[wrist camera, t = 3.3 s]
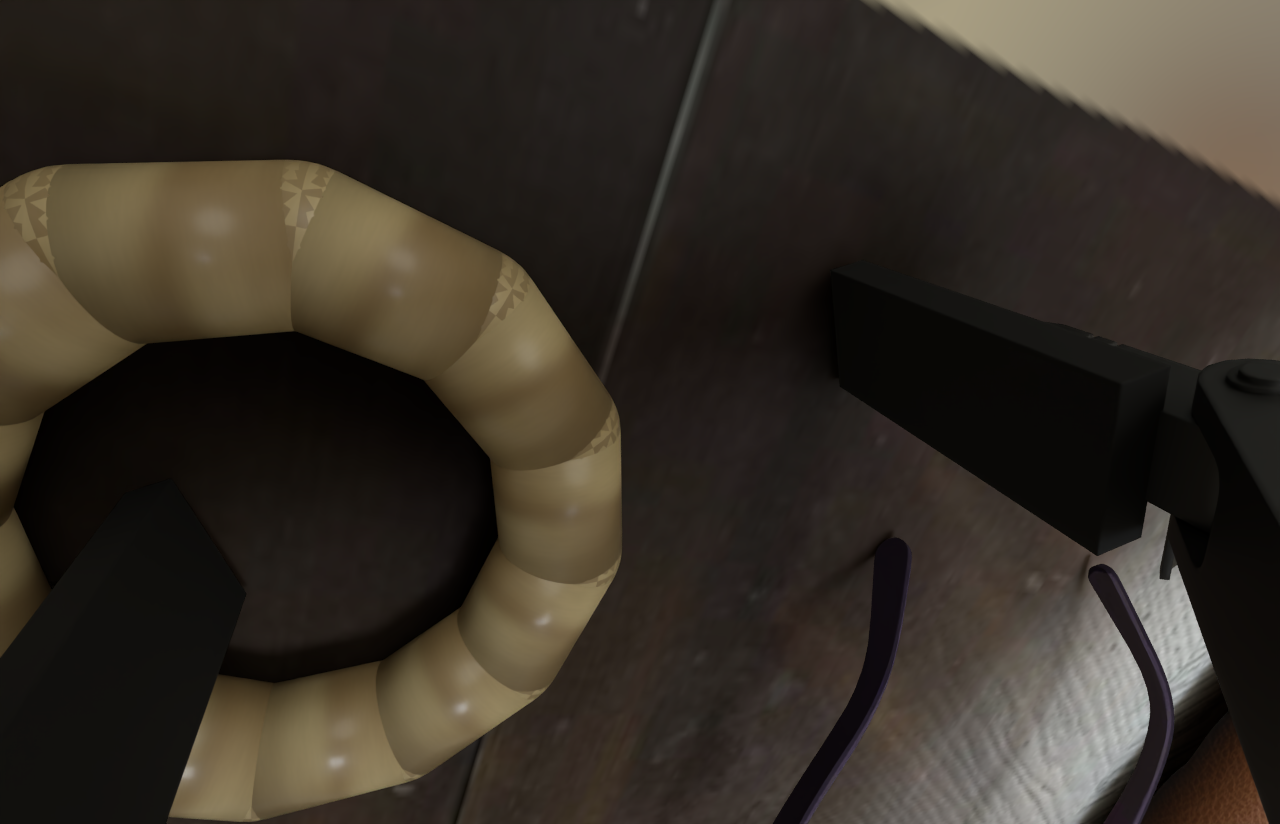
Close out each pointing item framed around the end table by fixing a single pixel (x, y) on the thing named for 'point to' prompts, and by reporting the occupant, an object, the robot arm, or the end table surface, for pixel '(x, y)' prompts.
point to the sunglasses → (880, 658)
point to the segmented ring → (367, 326)
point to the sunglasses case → (1210, 785)
